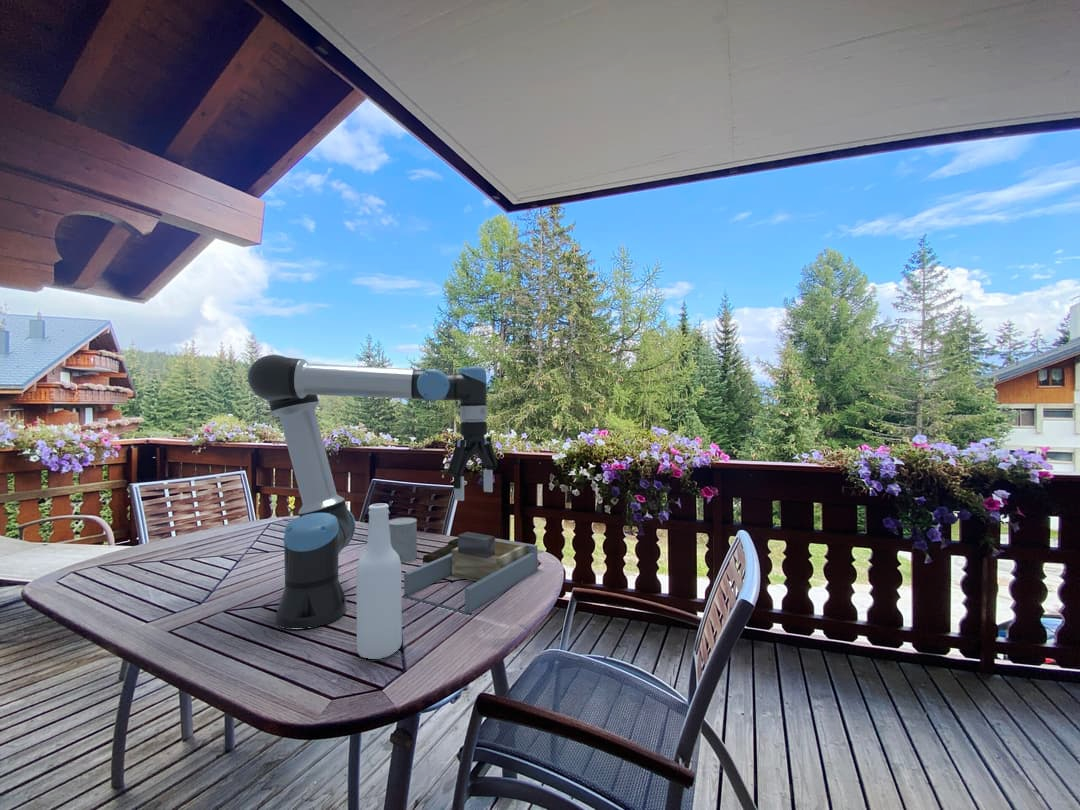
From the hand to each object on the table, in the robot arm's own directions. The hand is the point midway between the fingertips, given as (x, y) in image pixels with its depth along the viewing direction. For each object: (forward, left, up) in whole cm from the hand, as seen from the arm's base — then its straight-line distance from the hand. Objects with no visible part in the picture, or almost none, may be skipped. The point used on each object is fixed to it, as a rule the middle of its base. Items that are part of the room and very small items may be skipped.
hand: (474, 495), depth 130 cm
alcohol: (-38, -5, -25) cm, 46 cm away
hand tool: (+13, +23, -25) cm, 37 cm away
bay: (-1, -1, -25) cm, 25 cm away
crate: (+6, -1, -24) cm, 24 cm away
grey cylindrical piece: (+6, +35, -25) cm, 44 cm away
